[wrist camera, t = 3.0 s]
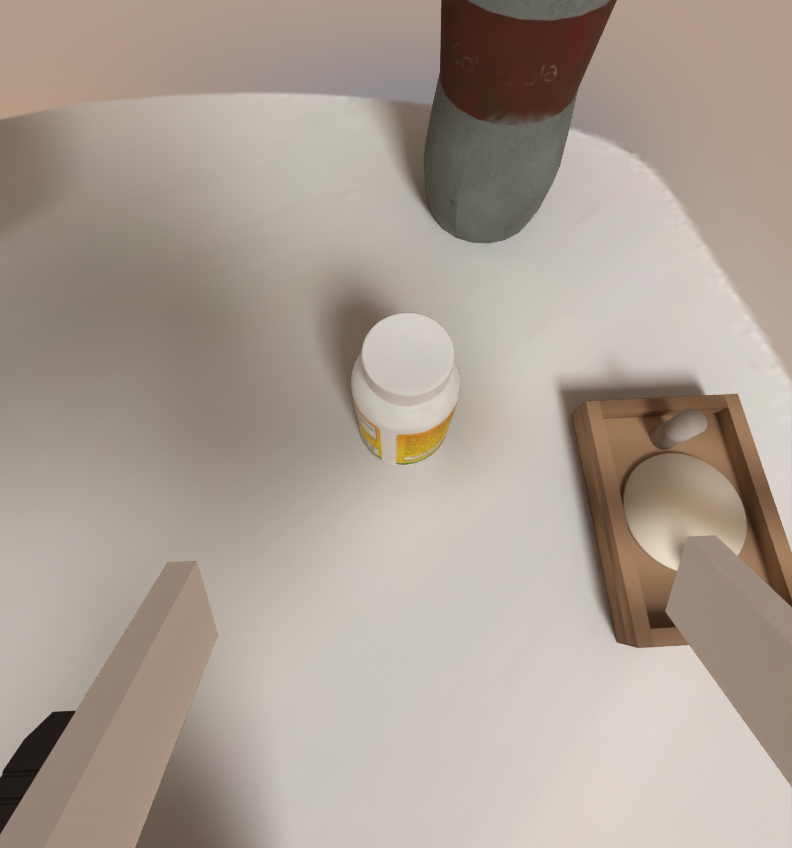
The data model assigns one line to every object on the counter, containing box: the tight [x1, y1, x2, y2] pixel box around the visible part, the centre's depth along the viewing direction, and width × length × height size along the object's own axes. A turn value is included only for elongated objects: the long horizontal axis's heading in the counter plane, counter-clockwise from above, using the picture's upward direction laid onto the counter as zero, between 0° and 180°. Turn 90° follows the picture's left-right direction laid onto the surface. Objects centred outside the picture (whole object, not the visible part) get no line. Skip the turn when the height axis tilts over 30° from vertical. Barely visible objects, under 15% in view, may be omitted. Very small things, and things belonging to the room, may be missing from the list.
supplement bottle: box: [351, 313, 461, 466], centre depth 23 cm, size 5×5×10 cm
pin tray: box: [572, 394, 792, 648], centre depth 24 cm, size 13×9×4 cm
